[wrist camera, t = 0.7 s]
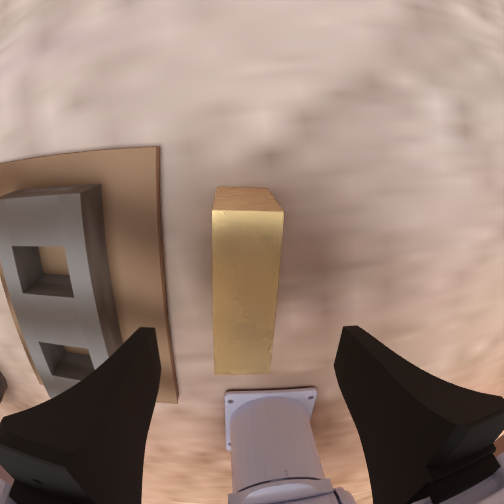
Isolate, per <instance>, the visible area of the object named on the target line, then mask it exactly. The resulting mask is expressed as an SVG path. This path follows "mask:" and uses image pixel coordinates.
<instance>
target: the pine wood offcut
mask: <svg viewBox="0 0 504 504" xmlns="http://www.w3.org/2000/svg"><path fill="white" fill-rule="evenodd" d="M283 221H284V211H283V210H282V208H281V207H280V206H279V204H278V203H277V202H276V200H275V199H274V197H273V196H272V195H271V193H270V192H269V191H268V189H267V188H238V187H217V190H216V194H215V199H214V204H213V210H212V288H213V335H214V364H215V374H222V375H236V374H270V365H271V355H272V346H273V336H274V326H275V315H276V305H277V294H278V283H279V271H280V259H281V247H282V234H283Z"/></svg>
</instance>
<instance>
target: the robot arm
mask: <svg viewBox="0 0 504 504" xmlns="http://www.w3.org/2000/svg"><path fill="white" fill-rule="evenodd" d="M161 369H162V367H161V362H160V356H159V349H158V343H157V337H156V330H155V328H152V327H139V328H138V329H137V330H136V331H135V332H134V333H133V334H132V335H131V336H130V337H129V338H128V339H127V340H126V341H125V342H124V343H123V344H122V345H121V346H120V347H119V348H118V349H117V350H116V351H115V352H114V353H113V354H112V355H111V356H110V357H109V358H108V359H107V360H106V361H105V362H104V363H102V364H101V365H100V366H99V367H98V368H97V369H96V370H94V371H93V372H92V373H91V374H89V375H88V376H87V377H85V378H84V379H83V380H81V381H80V382H78V383H77V384H76V385H74V386H72V387H71V388H69V389H67V390H66V391H64V392H62V393H61V394H59V395H57V396H55V397H54V398H52V399H50V400H48V401H46V402H44V403H41V404H39V405H37V406H35V407H32V408H30V409H27V410H24V411H21V412H18V413H15V414H12V415H9V416H5V417H3V419H2V420H1V422H0V465H1V466H2V467H3V468H4V469H5V470H6V471H7V472H8V473H9V474H10V475H11V476H12V477H13V478H14V479H15V480H14V483H13V486H11V485H10V484H9V483H7V482H6V481H4V480H2V479H0V504H141V497H142V476H143V463H144V453H145V445H146V439H147V434H148V430H149V426H150V422H151V418H152V414H153V411H154V407H155V403H156V399H157V395H158V391H159V384H160V377H161ZM334 369H335V373H336V377H337V381H338V384H339V387H340V390H341V392H342V395H343V397H344V399H345V402H346V404H347V406H348V409H349V411H350V414H351V416H352V418H353V421H354V423H355V425H356V428H357V430H358V433H359V436H360V440H361V443H362V447H363V451H364V455H365V459H366V463H367V468H368V472H369V478H370V484H371V489H372V496H373V504H504V452H503V453H502V454H500V455H499V456H498V457H497V458H495V456H494V455H493V453H494V452H495V451H496V447H495V446H494V444H493V442H494V441H495V440H496V439H497V438H498V436H499V435H500V434H501V433H502V431H503V430H504V399H503V397H501V396H496V395H490V394H485V393H480V392H476V391H473V390H469V389H466V388H463V387H460V386H457V385H454V384H452V383H449V382H447V381H444V380H442V379H440V378H437V377H435V376H433V375H431V374H429V373H427V372H425V371H424V370H422V369H420V368H418V367H416V366H415V365H413V364H412V363H410V362H408V361H407V360H405V359H404V358H402V357H401V356H399V355H398V354H396V353H395V352H393V351H392V350H391V349H389V348H388V347H386V346H385V345H384V344H382V343H381V342H380V341H378V340H377V339H376V338H374V337H373V336H372V335H370V334H369V333H367V332H366V331H365V330H363V329H362V328H360V327H359V326H343V330H342V334H341V338H340V342H339V346H338V350H337V354H336V358H335V362H334ZM316 396H317V389H316V388H301V389H286V390H265V391H228V392H226V393H225V428H226V449H227V450H228V451H231V465H232V485H233V493H230V494H228V504H356V502H355V500H354V498H353V496H352V494H351V493H350V492H348V491H346V490H344V489H343V488H342V487H337V488H333V487H332V484H331V480H330V478H327V479H325V476H324V472H323V469H322V465H321V461H320V458H319V454H318V450H317V447H316V443H315V439H314V436H313V432H312V428H311V425H310V418H311V415H312V411H313V407H314V404H315V400H316Z"/></svg>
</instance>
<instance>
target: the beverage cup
mask: <svg viewBox="0 0 504 504" xmlns="http://www.w3.org/2000/svg"><path fill="white" fill-rule="evenodd" d="M6 389H7V382H6V380H5V378H4V377H3V375H2V374H1V373H0V403H1V401H2V398H3V395H4V393H5V390H6Z"/></svg>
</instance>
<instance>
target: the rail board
mask: <svg viewBox="0 0 504 504" xmlns="http://www.w3.org/2000/svg"><path fill="white" fill-rule="evenodd" d="M0 277H1V281H2V284H3V288H4V292H5V295H6V298H7V302H8V305H9V308H10V311H11V314H12V317H13V320H14V323H15V326H16V328H17V331H18V334H19V337H20V339H21V342H22V344H23V347H24V349H25V352H26V354H27V357H28V359H29V361H30V364H31V366H32V368H33V370H34V373H35V375H36V377H37V379H38V381H39V383H40V384H42V385H44V386H45V388H46V390H47V392H48V394H49V396H50V398H54V397H55V396H57V395H59V394H61V393H62V392H64V391H66V390H67V389H69V388H71V387H72V386H74V385H76V384H77V383H78V382H80V381H81V380H83V379H84V378H85V377H87V376H88V375H89V374H91V373H92V372H93V371H94V370H96V369H97V368H98V367H99V366H100V365H101V364H102V363H104V362H105V361H106V360H107V359H108V358H109V357H110V356H111V355H112V354H113V353H114V352H115V351H116V350H117V349H118V348H119V347H120V346H121V345H122V344H123V343H124V342H125V341H126V340H127V339H128V338H129V337H130V336H131V335H132V334H133V333H134V332H135V331H136V330H137V329H138V328H139V327H152V328H155V330H156V337H157V343H158V349H159V356H160V362H161V367H162V369H161V377H160V384H159V391H158V395H157V399H156V402H159V403H174V404H178V397H179V394H178V388H177V381H176V375H175V368H174V361H173V354H172V346H171V338H170V330H169V321H168V312H167V302H166V291H165V280H164V267H163V252H162V235H161V212H160V147H138V148H121V149H108V150H96V151H85V152H76V153H67V154H59V155H51V156H44V157H37V158H31V159H24V160H18V161H13V162H7V163H2V164H0Z"/></svg>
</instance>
